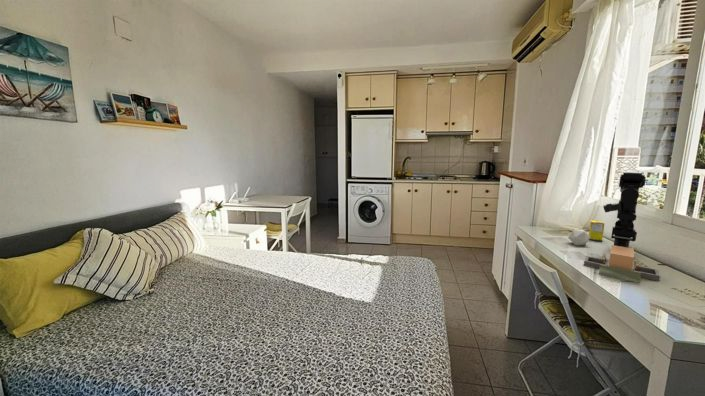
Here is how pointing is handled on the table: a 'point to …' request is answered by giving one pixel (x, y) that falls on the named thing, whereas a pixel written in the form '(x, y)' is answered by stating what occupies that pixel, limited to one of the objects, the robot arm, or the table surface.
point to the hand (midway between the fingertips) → (623, 231)
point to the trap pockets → (645, 271)
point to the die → (579, 237)
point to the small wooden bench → (620, 271)
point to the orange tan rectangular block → (621, 257)
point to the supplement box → (596, 230)
